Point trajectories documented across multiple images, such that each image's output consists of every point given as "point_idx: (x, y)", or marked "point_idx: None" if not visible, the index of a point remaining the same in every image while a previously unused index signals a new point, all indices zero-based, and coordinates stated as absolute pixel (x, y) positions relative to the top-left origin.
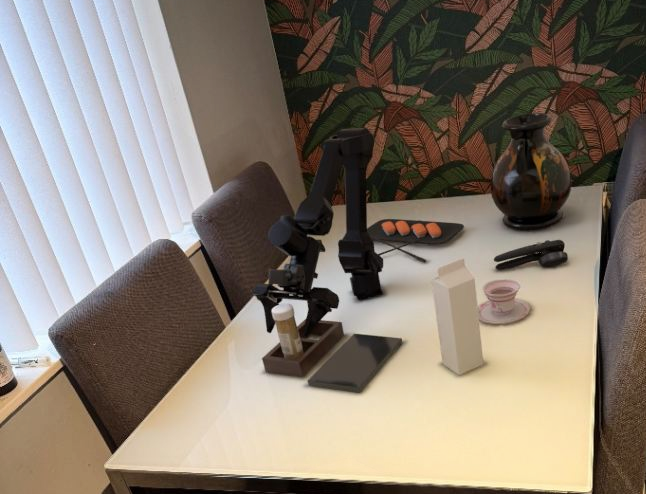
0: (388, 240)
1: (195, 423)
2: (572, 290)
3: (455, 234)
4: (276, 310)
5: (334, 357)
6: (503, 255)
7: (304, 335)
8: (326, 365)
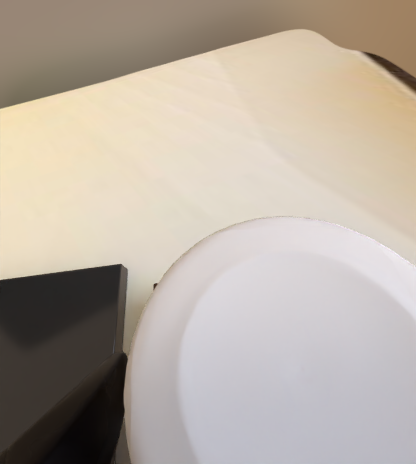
0: None
1: (281, 99)
2: None
3: None
4: (309, 257)
5: None
6: None
7: (115, 354)
8: (97, 363)
